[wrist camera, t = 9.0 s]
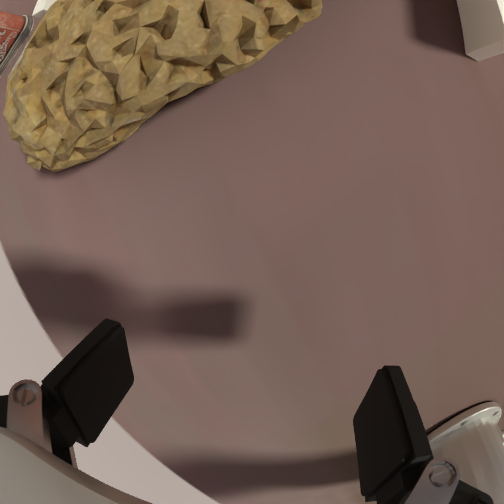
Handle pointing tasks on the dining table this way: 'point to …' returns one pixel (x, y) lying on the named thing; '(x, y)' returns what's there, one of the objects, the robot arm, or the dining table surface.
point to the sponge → (130, 66)
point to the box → (471, 15)
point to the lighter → (12, 36)
